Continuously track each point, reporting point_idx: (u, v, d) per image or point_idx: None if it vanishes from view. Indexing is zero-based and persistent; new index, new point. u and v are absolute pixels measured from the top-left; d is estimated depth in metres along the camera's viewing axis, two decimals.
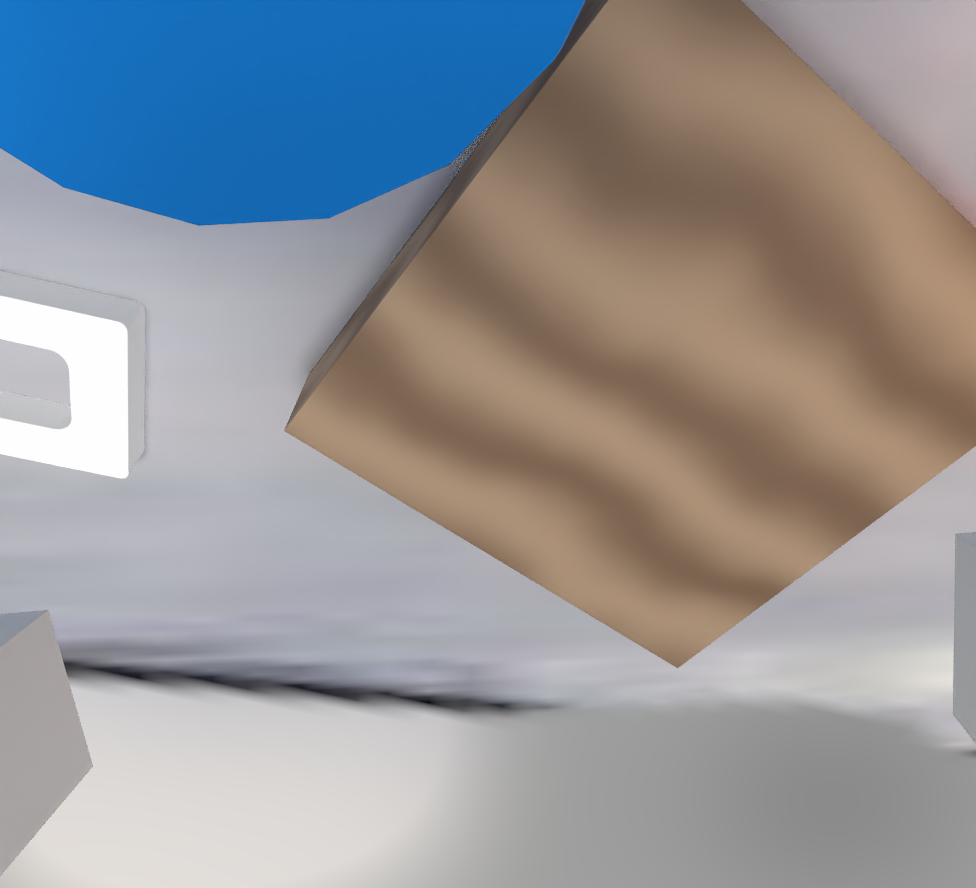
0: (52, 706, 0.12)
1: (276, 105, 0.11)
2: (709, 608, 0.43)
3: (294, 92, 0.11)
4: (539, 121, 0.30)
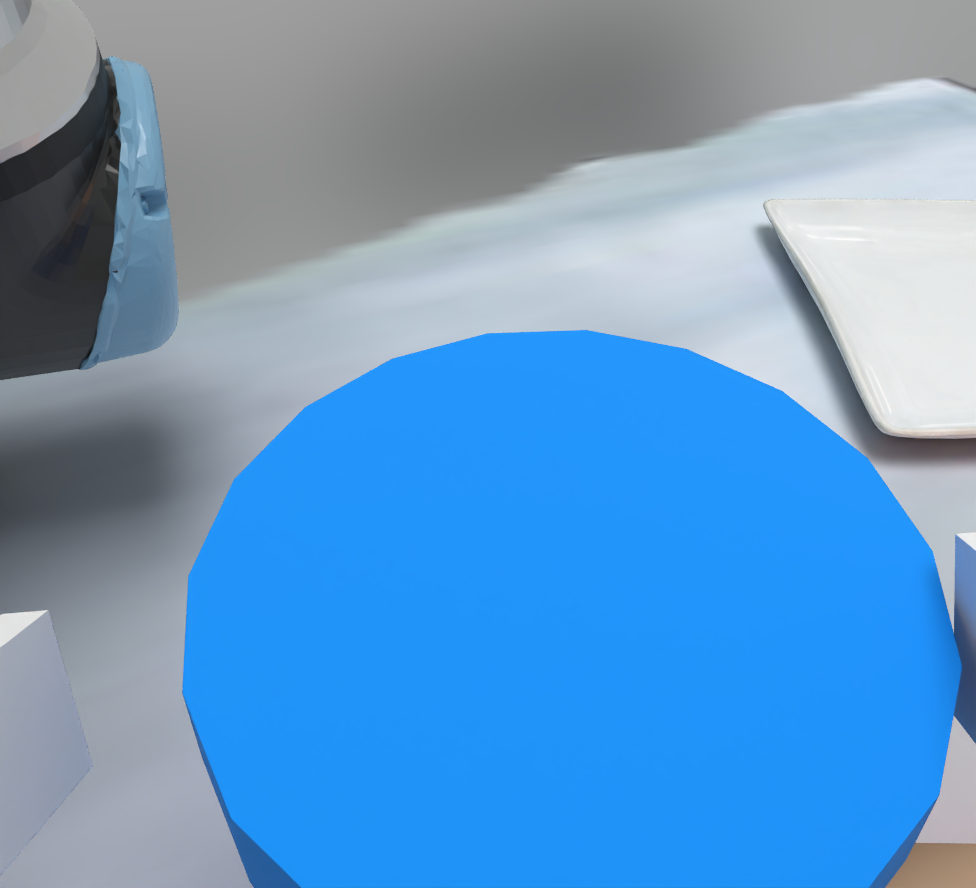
0: (52, 706, 0.12)
1: (805, 726, 0.10)
2: None
3: (808, 704, 0.10)
4: None
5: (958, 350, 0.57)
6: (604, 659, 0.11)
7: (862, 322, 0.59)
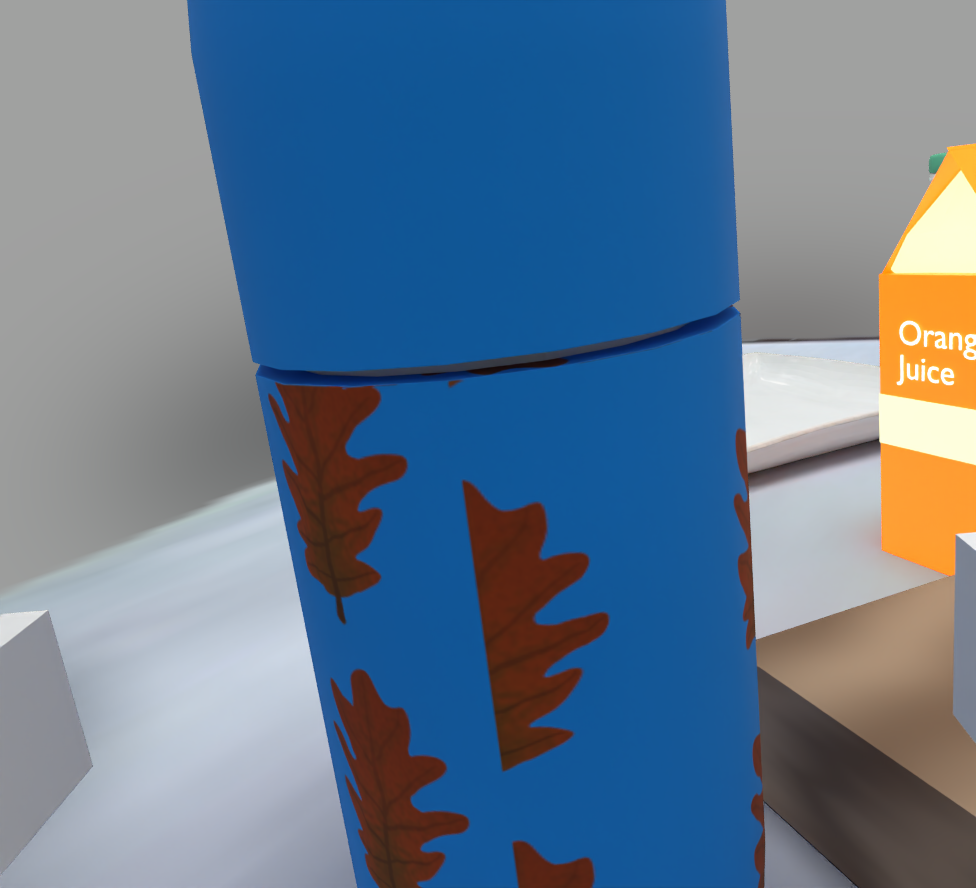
0: (52, 706, 0.12)
1: None
2: None
3: None
4: (916, 754, 0.22)
5: None
6: None
7: None
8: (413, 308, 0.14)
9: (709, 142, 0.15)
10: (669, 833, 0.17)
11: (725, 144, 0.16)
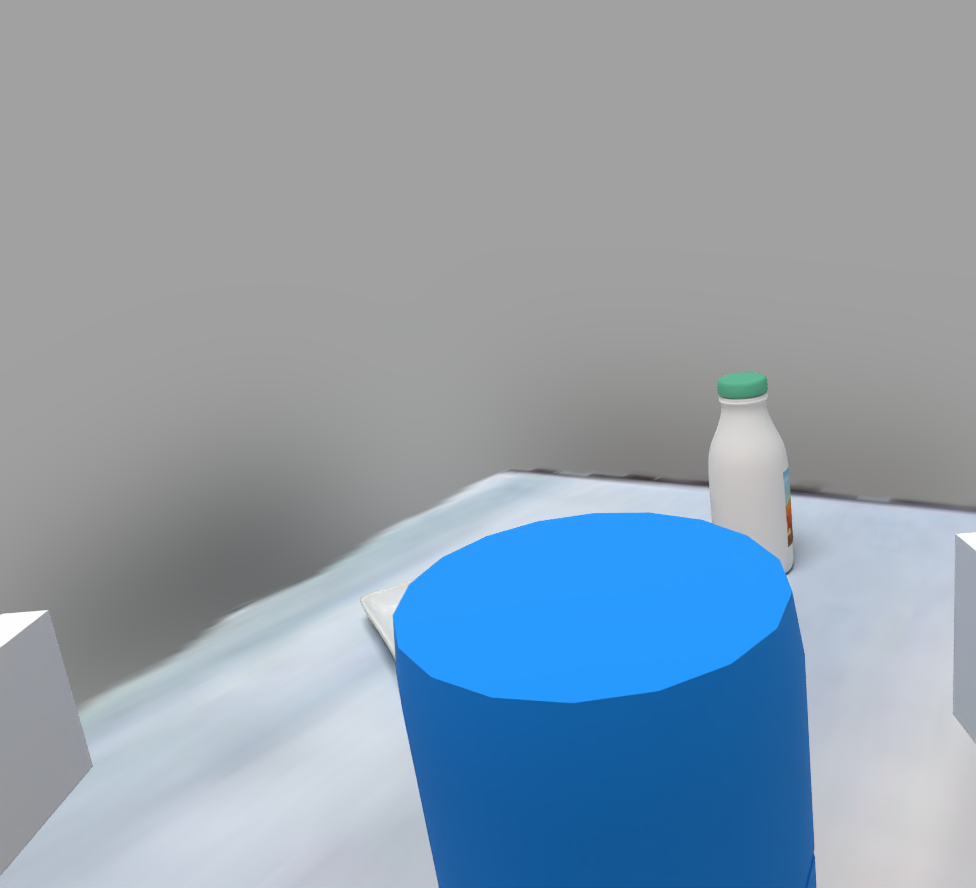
0: (52, 706, 0.12)
1: (727, 593, 0.21)
2: None
3: (724, 588, 0.22)
4: None
5: None
6: (627, 604, 0.21)
7: None
8: None
9: (797, 795, 0.21)
10: None
11: (805, 766, 0.22)
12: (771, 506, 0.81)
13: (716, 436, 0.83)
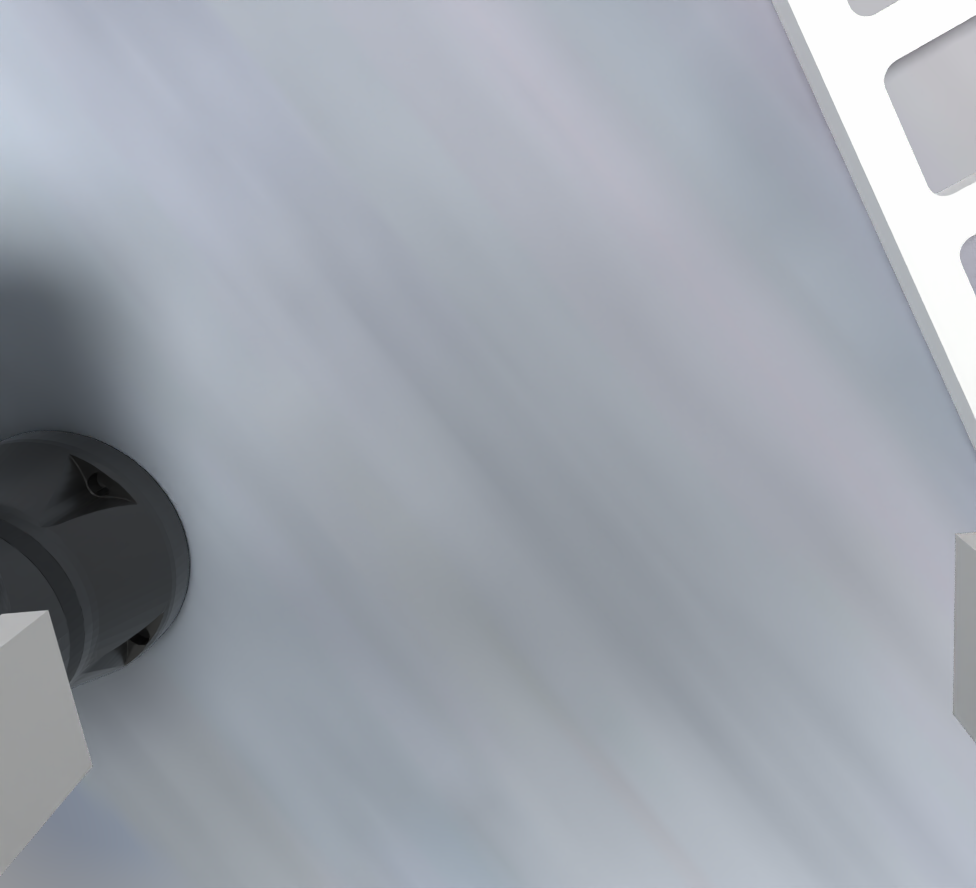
0: (52, 706, 0.12)
1: None
2: None
3: None
4: None
5: None
6: None
7: None
8: None
9: None
10: None
11: None
12: None
13: None
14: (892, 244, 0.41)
